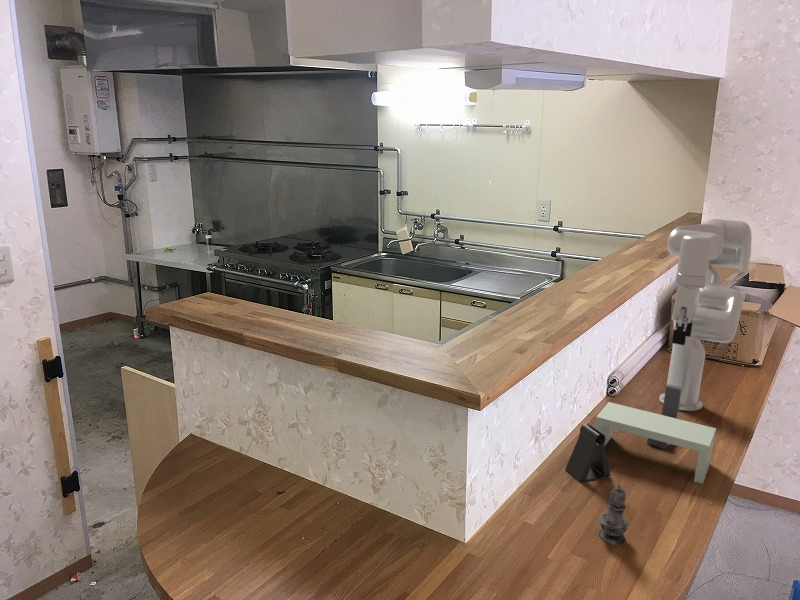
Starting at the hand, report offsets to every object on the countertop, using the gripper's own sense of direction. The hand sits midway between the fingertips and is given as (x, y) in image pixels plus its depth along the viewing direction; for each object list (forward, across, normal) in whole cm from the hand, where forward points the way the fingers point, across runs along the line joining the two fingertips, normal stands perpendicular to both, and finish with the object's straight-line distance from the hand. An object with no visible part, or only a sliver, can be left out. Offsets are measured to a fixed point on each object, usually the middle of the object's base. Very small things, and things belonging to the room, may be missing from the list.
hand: (681, 339), depth 181 cm
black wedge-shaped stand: (+26, +42, -11) cm, 51 cm away
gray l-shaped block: (+26, +8, 0) cm, 27 cm away
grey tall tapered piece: (+26, +65, +1) cm, 70 cm away
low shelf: (+26, +24, 0) cm, 36 cm away
